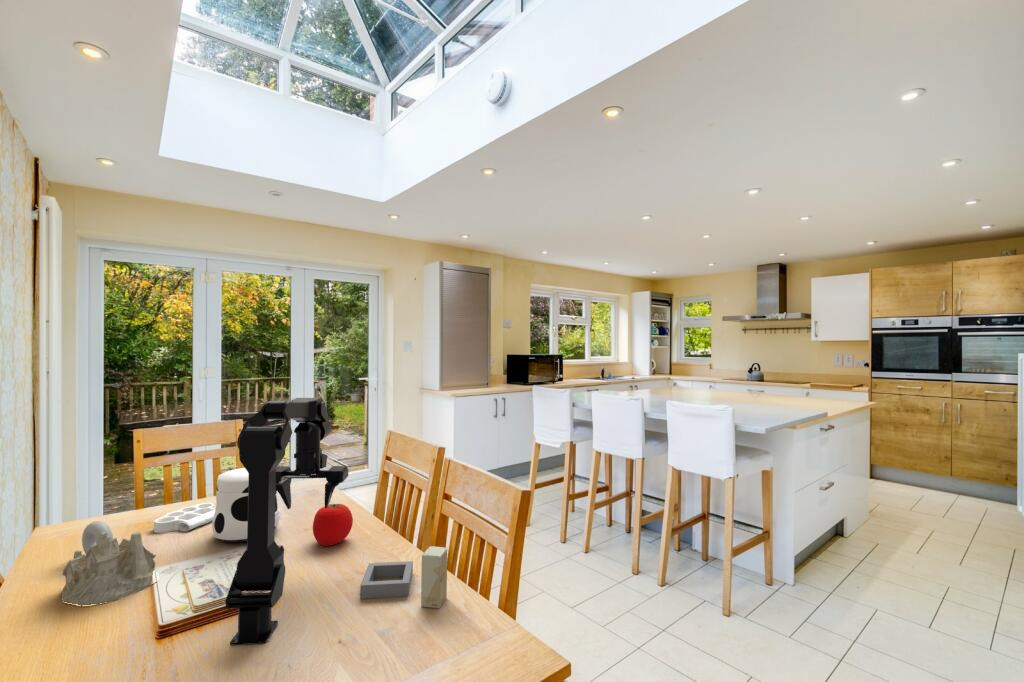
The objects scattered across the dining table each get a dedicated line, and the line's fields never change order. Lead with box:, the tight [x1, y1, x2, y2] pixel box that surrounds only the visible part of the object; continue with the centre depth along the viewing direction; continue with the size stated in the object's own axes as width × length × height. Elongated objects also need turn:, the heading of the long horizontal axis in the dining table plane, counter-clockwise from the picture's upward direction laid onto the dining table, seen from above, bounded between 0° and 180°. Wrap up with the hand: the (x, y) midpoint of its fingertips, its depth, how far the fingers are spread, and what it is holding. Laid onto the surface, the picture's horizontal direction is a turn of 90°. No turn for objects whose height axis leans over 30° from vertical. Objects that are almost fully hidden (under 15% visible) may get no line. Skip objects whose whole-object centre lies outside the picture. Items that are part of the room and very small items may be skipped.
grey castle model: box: [61, 531, 157, 605], centre depth 108 cm, size 16×16×15 cm
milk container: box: [211, 467, 281, 543], centre depth 138 cm, size 17×17×18 cm
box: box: [420, 545, 448, 609], centre depth 103 cm, size 5×4×11 cm
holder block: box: [359, 560, 414, 600], centre depth 110 cm, size 10×10×3 cm
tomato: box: [312, 503, 354, 547], centre depth 133 cm, size 10×11×11 cm
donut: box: [81, 520, 114, 554], centre depth 121 cm, size 10×4×10 cm, turn 66°
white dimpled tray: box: [153, 502, 216, 534], centre depth 147 cm, size 3×18×15 cm
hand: (307, 508), depth 119 cm, fingers open, 9 cm apart
